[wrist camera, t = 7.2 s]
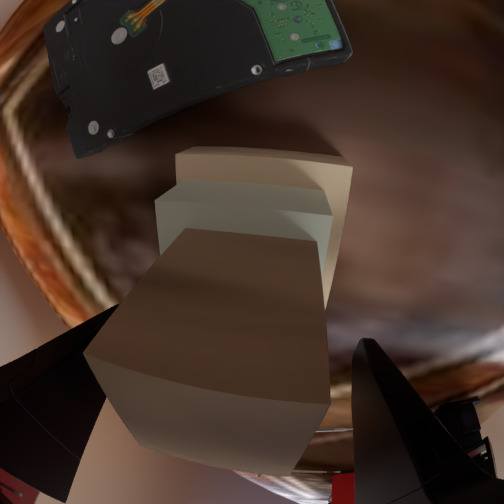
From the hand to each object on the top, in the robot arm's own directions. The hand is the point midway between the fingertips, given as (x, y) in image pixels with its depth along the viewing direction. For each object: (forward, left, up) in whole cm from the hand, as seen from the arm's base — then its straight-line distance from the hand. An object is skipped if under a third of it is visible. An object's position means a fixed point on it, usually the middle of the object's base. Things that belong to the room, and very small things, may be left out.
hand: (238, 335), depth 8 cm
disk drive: (+11, +5, -9) cm, 15 cm away
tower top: (0, +1, -5) cm, 5 cm away
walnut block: (0, 0, -2) cm, 2 cm away
